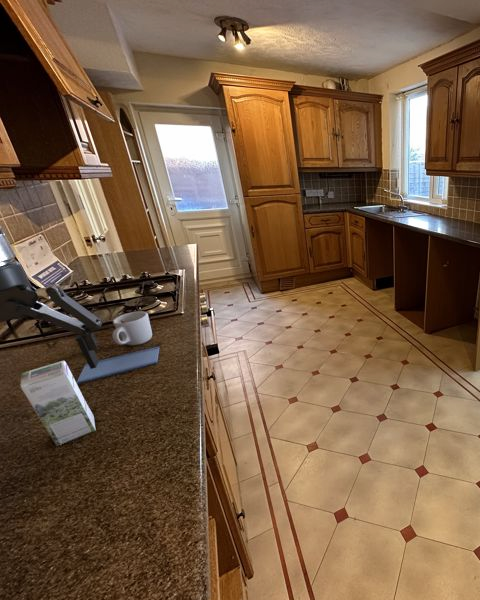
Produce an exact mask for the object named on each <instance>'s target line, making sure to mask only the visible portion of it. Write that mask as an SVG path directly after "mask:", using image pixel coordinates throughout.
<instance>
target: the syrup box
mask: <svg viewBox="0 0 480 600" xmlns="http://www.w3.org/2000/svg"><path fill="white" fill-rule="evenodd" d="M76 382H77V381H76V380H75V377H74V376H73V373H72V372H71V369H70V368H69V365H68V364H67V362H66V361H65V360H61V361H58V362H54V363H51V364H47V365H43V366H41V367H38V368H34V369H32V370H27V371H24V372H22V373H21V377H20V383H19V384H20V385H19V387H20V389H21V390H22V392H23V394H24V395H25V397H26V398H27V400H28V401H29V403H30V405H31V407H32V408H33V410H34V411H35V413H36V415H37V417H38V418H39V420H40V422H41V423H42V425H43V426H44V428H45V429H46V431H47V433H48V435H49V436H50V437H51V439H52V441H53V442H54V444H55V445H56V447H60V446H62V444H63V445H65V444H67V443H69V442H72V441H75V440H77V439H79V438H82V437H84V436H86V435H88V434H91V433H93V432H96V431H97V429H96V423H95V417H94V413H93V412H92V410H91V409H90V407H89V404H88V403H87V400H86V399H85V398H84V396H83V394H82V392H81V390H80V388H79V385H78V384H76ZM64 443H65V444H64ZM59 445H60V446H59Z"/></svg>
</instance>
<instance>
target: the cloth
mask: <svg viewBox="0 0 480 600" xmlns="http://www.w3.org/2000/svg"><path fill="white" fill-rule="evenodd" d="M159 353H160V346H155V347H150V348H147V349H142V350H137V351H134V352H130V353H126V354H122V355H118V356H113V357H109V358H106V359H101V360H99V362H98V364H97V367H96V368H93V369H91V368H90V366H89V364H88V363H85V364H84V367H83V368H82V370H81V372H80V374H79V376H78V379H77V380H76V381H75V382H76V384H77V385H80V384H83V383H88V382H92V381H96V380H99V379H103V378H107V377H110V376H114V375H119V374H123V373H126V372H129V371H133V370H134V371H135V370H139V369H141V368H145V367H150V366H153V365H157V364H158V361H159Z"/></svg>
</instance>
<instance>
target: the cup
mask: <svg viewBox="0 0 480 600" xmlns="http://www.w3.org/2000/svg"><path fill="white" fill-rule="evenodd" d="M112 324H113V325H114V327H115V329H114V331H113V332H112V340H113V341H114V342H115V343H116V344H117V345H125V344H126V345H128V346H139V345H142V344H145V343H147V342H149V341H150V340H151V339H152V338H153V331H152V327H151V322H150V318H149V314H148V312H146V311H141V310H140V311H139V310H137V311H132V312H131V311H130V312H127V313H124V314H121V315H119V316H117V317H115V318H114V319H113V321H112ZM120 338H121V339H120Z"/></svg>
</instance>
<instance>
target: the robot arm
mask: <svg viewBox="0 0 480 600" xmlns="http://www.w3.org/2000/svg"><path fill="white" fill-rule="evenodd" d="M16 257H17V254H16V252H15V250H14V248H13V247H12V245H11V243H10V241H9V239H8V238H7V235H6V234H5V232H4V230H3V229H2V226H1V225H0V323H5V322H6V321H7V322H8V321H9V320H22V319H25V317H31V318H32V319H37V320H42V321H44V322H47V323H49V324H51V325H53V326H56V327H59V328H61V329H63V330H66V331H68V332H70V333H73V334H76V335H77V336H76V338H75V341H76V342H77V344H78V347H79V348H80V351H81V353H82V355H83V356H84V359H85V361H86V362H87V364H89V366H90V368H91V369H93V368H96V367H97V364H98V362H99V361H100V360H99V358H98V356H97V354H96V350H97V349H98V347H99V343H98V340H97V338H96V336H95V334H94V332H96V331H99V330H100V329H101V327H102V325H103V323H104V322H103V321H102V319H101V318H99V317H98V316H96V315H95V314H93V313H92V312H91V311H89V310H88V309H86V308H85V307H84V306H82V305H81V304H80V303H78V302H77V301H76V300H74V299H73V298H71V296H69V295H68V294H66V293H65V291H64V290H63V288H62V287H61V285H60V284H58V283H55V282H54V283H51V284H50V285H49V286H45V287H40V288H35V287H34V286H33V285H32V284H31V282H30V279H29V278H28V276H27V274H26V272H25V270H24V268H23V266H22V264H21V263H20V262H21V261H18V260H16V259H15V258H16ZM40 297H43V298H45V299H46V300H49V301H50V300H51V302H52V303H53V304H55V305H56V306H58V307H59V308H60V309H62V310H63V311H65V312H66V313H68V314H69V315H70V316H69V315H67V314H64V313H61V312H59V311H57V310H54V309H52V308H50V307H49V306H48V305H47V304H44V303H42V302H40V301H38V300H39V298H40Z"/></svg>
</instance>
